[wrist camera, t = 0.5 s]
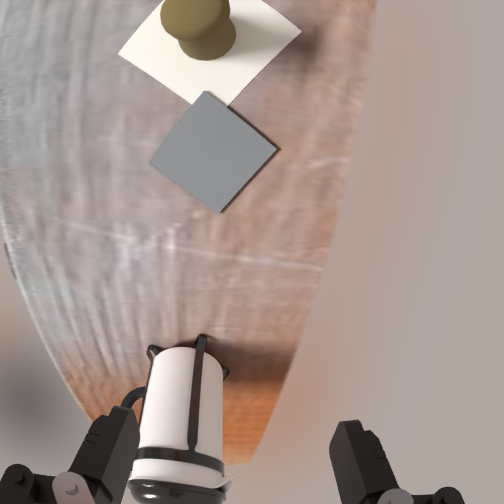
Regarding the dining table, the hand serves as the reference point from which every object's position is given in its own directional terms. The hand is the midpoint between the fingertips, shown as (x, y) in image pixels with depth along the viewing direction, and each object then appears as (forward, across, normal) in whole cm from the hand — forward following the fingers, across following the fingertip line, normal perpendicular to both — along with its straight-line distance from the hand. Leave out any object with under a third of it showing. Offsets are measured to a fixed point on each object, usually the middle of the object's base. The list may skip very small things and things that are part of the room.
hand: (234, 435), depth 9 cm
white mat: (+21, +5, -24) cm, 33 cm away
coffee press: (+34, +9, +23) cm, 41 cm away
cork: (+21, +5, -24) cm, 33 cm away
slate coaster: (+25, +4, -11) cm, 27 cm away
